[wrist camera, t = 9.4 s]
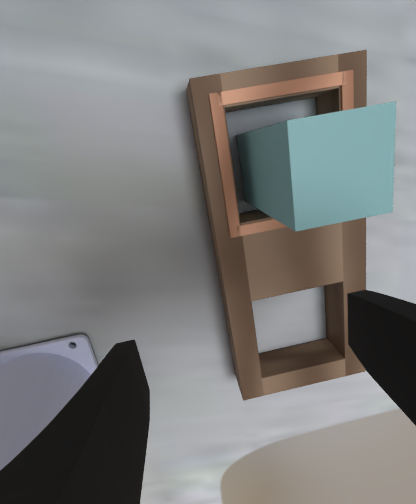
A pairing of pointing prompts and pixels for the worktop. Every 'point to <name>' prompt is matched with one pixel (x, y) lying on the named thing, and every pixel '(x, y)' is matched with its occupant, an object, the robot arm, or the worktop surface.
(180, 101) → the worktop surface
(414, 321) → the robot arm
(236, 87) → the wooden double hole frame
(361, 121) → the peg
